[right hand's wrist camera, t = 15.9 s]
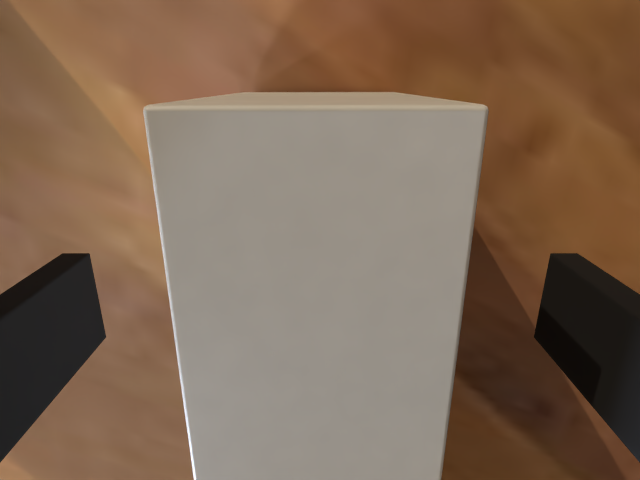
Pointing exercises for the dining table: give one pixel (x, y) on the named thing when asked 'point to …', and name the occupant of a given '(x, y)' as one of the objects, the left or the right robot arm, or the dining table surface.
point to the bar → (316, 276)
